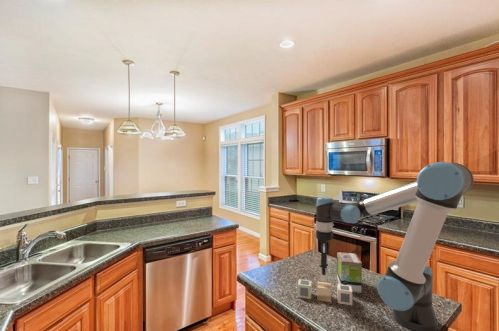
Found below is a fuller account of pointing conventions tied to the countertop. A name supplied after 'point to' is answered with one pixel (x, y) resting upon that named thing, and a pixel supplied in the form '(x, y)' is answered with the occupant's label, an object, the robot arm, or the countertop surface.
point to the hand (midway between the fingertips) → (323, 280)
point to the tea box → (349, 271)
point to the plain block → (324, 291)
